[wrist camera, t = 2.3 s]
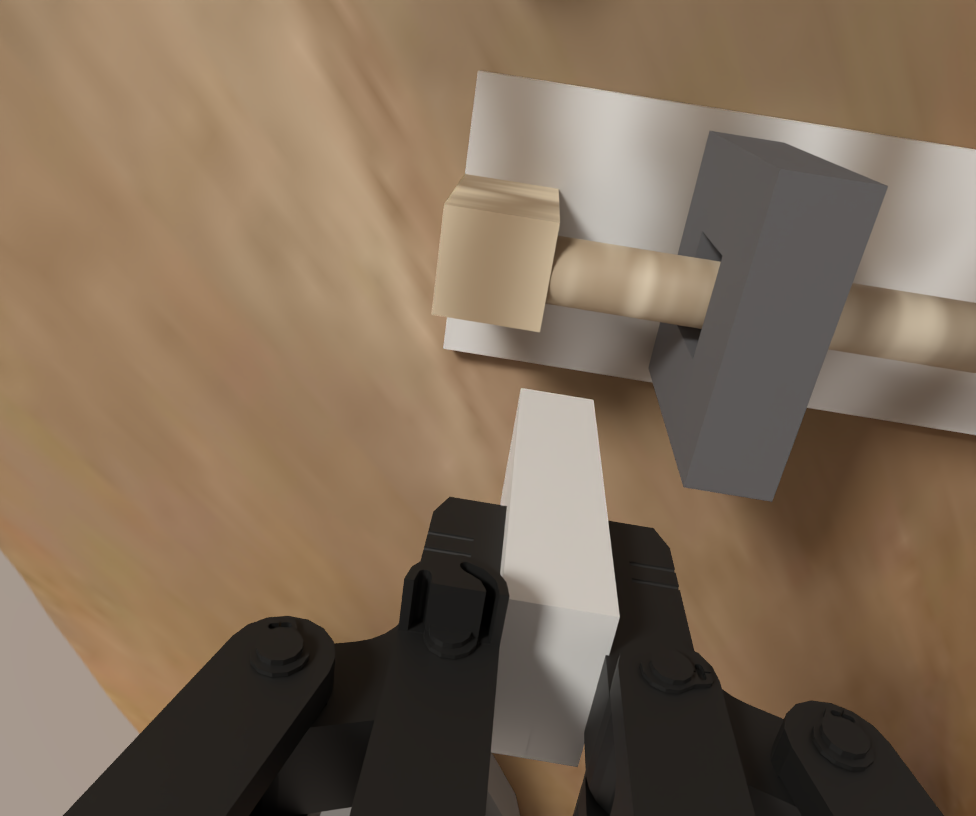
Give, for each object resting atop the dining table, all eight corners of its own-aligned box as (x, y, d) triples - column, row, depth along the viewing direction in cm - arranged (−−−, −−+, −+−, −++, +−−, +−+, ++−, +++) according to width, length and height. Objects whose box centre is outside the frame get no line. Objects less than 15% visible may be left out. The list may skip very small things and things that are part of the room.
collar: (648, 368, 35) (683, 486, 25) (709, 130, 30) (780, 168, 21) (712, 378, 35) (772, 501, 25) (784, 142, 30) (887, 186, 21)
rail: (445, 341, 36) (420, 412, 29) (480, 70, 31) (458, 77, 24) (1107, 448, 36) (1242, 546, 29) (1255, 193, 31) (1464, 238, 24)
